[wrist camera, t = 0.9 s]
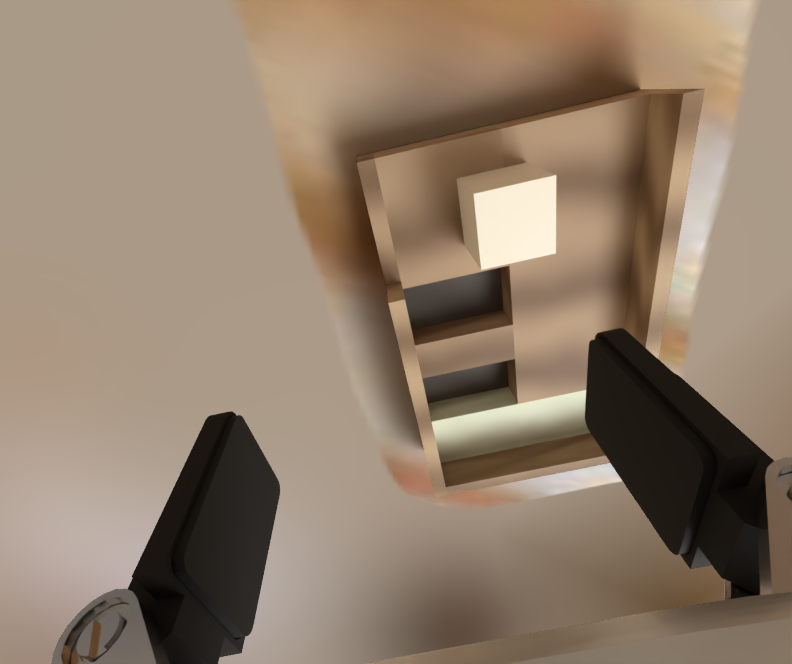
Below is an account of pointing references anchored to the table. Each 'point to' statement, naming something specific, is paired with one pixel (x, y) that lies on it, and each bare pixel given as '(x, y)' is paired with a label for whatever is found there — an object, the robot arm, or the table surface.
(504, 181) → the ivory block
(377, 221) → the box
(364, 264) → the table surface
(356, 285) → the table surface
